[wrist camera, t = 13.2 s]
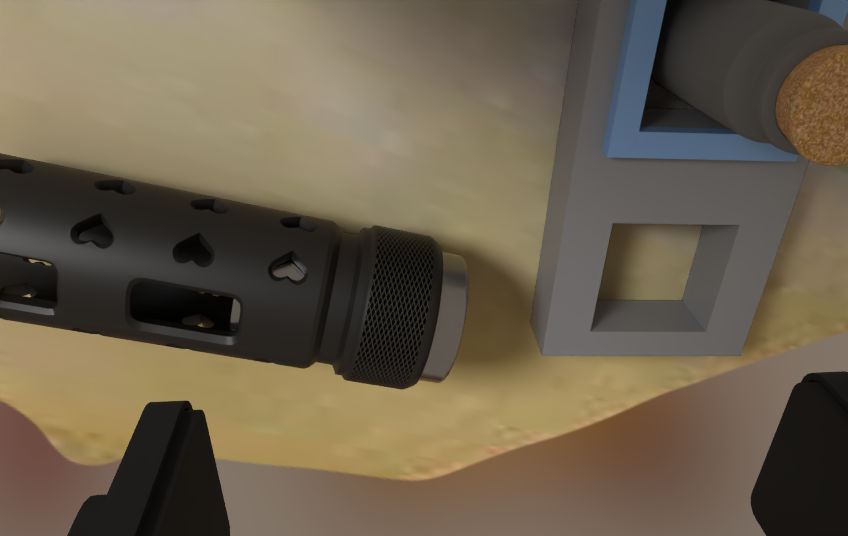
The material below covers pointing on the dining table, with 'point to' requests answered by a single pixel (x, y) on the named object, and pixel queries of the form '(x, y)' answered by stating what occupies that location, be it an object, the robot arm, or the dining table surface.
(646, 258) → the dining table surface
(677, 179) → the grey cinder block
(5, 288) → the muzzle brake
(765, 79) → the bottle
